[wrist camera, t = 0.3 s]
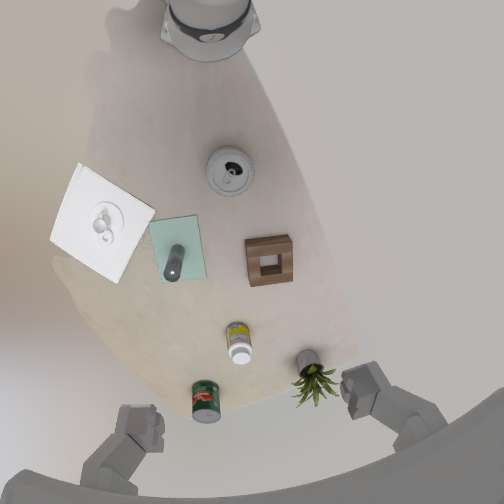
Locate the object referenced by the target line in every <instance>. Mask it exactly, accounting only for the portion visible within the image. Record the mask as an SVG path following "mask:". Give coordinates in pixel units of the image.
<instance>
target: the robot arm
mask: <svg viewBox="0 0 504 504" xmlns="http://www.w3.org/2000/svg"><path fill="white" fill-rule="evenodd" d="M165 4H166V5H167V8H166V10H165V12H164V21H163V25H162V30H161V35H160V37H161V40H162V41H164V42H166V43H168V44H171V45H173V46H175V47H176V48H177V49H178V50H179V51H180V52H181V53H182V54H183V55H185V56H187V57H188V58H191V59H193V60H197V61H203V62H213V61H219V60H222V59H225V58H228V57H230V56H232V55H233V54H235V53H236V52H238V51H239V50H240V49H241V48H242V47H243V45H244V44H245V42H246V41H247V40H248V38H249V37H251V36H253V35H255V34H256V33H258V32H259V31H260V28H261V25H260V22H259V19H258V17H257V14H256V11H255V9H254V6H253V3H252V1H251V0H165ZM166 30H167V32H166ZM341 376H342V379H343V381H341V383H340V390H341V394H342V397H343V400H344V401H345V402H346V403H348V411H349V413H350V415H351V418H352V420H355V419H358V418H361V417H364V416H367V415H371V416H372V417H374V418H375V419H377V420H378V421H380V422H381V423H383V424H384V425H386V426H387V427H389V428H390V429H392V430H393V431H395V432H396V433H398V434H399V436H398V437H397V439H396V440H395V442H394V444H393V447H394V449H395V452H396V453H394V454H392V455H390V456H388V457H386V458H383V459H381V460H378V461H376V462H373V463H371V464H368V465H366V466H363V467H360V468H358V469H355V470H352V471H349V472H346V473H343V474H340V475H337V476H333V477H330V478H327V479H324V480H320V481H316V482H312V483H308V484H304V485H300V486H296V487H291V488H286V489H281V490H276V491H270V492H264V493H257V494H250V495H241V496H232V497H217V498H159V497H146V496H138V488H137V486H135V485H134V484H132V483H131V482H129V481H128V480H129V479H130V477H131V476H132V474H133V473H134V471H135V470H136V468H137V467H138V466H139V464H140V463H141V461H142V460H143V458H144V457H145V455H146V453H148V452H149V453H150V452H152V453H153V452H163V448H164V439H163V438H162V437H161V436H162V435H163V434H164V432H165V424H164V419H163V417H162V415H161V414H159V413H158V412H156V407H155V406H154V405H153V404H151V405H150V404H149V405H121V407H120V409H119V414H118V418H117V423H116V428H115V433H114V434H111V435H110V436H109V437H108V438H107V439H106V440H105V441H104V443H103V444H102V445H101V446H100V447H99V448H98V449H97V450H96V451H95V452H94V453H93V454H92V455H91V456H90V457H89V458H88V459H87V460H86V461H85V462H84V464H83V470H82V475H81V480H80V486H79V485H75V484H71V483H68V482H64V481H60V480H57V479H54V478H51V477H47V476H44V475H41V474H39V473H36V472H33V471H30V470H27V469H24V470H22V471H20V472H19V473H17V474H16V475H15V476H14V477H12V478H11V479H10V480H9V481H8V482H7V483H6V485H5V487H4V489H3V492H2V495H1V499H0V504H504V388H500V389H498V390H497V391H495V392H494V393H493V394H492V395H490V396H489V397H488V398H486V399H485V400H484V401H482V402H481V403H480V404H478V405H477V406H476V407H474V408H473V409H471V410H470V411H468V412H467V413H466V414H464V415H463V416H461V417H460V418H458V419H456V420H455V421H453V422H452V423H450V424H449V425H448V423H447V422H446V420H445V418H444V417H443V415H442V414H441V412H440V411H439V409H438V408H437V406H436V405H435V404H434V403H431V402H429V401H427V400H425V399H422V398H420V397H418V396H416V395H413V394H412V393H409V392H407V391H405V390H403V389H401V388H399V387H397V386H391V384H390V383H389V382H388V380H387V378H386V376H385V375H384V373H383V372H382V370H381V368H380V367H379V365H378V364H377V362H375V361H372V362H369V363H366V364H362V365H360V366H357V367H354V368H351V369H348V370H345V371H343V372H342V375H341Z"/></svg>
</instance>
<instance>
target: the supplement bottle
mask: <svg viewBox="0 0 504 504" xmlns="http://www.w3.org/2000/svg"><path fill="white" fill-rule="evenodd" d="M226 336H227V347H228V354H229V356H230V357H231V358H232V360H233V362H234V363H236V364H239V365H243V364H246V363H248V362H249V360H250V355H251V354H252V345H251V340H250V335H249V330H248V327H247V326H246V325H245V324H243V323H239V322H236V323H233V324H231V325H229V326H228V328H227V330H226Z"/></svg>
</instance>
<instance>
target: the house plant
mask: <svg viewBox="0 0 504 504" xmlns="http://www.w3.org/2000/svg"><path fill="white" fill-rule="evenodd" d="M297 364H298V372H299V377H300V378H301V379H304V381H303V382H300V383H298V382H299V381H300V380H301V379H300V380H299V381H297V382H296V383H291V384H293V385H295V386H299V385H302V384H304V383H305V385H304V386H303V387H301V388H298V389H301V391H300V392H302V393H301V394H300V395H297V396H293V397H300V396H302V395H303V394H304V393H305V394H304V396H303V398H302V399H301V401H300V402H301V403H300V404H299V405H298V406H297V407H299V406H300V405H301V404H302V403H303V402H304V401H305V399H306V398H307V396H308V394H309V393H311V391H312V389H313V394H312V395H313V399H314V402H315V406H317V405H318V400H319V393H320V394H321V395H323V396H324V398H326V396H325V395H324V393H323V392H322V390H321V387H320V386H319V384H318V383H317V381H318V382H320V383H321V385H322V386H323V387H324V388H325V389H326V390H327V391H328V392H329V393H330V394H333V395H335V396H339V395H338V394H336V393H335V392H334V391H333V390H332V389H331V387H330V386H329V385H328V384H327V383H330V384H334V385H337V384H338V383H334V382H332V381H331V380H330V379H329V378H327V377H325V376H323V375H330V374H332V373H333V372H335V370H336V369H334V370H330V371H327V372H323V370H324V366H323V365H322V363H321V362H320V361H319V359H318V358H317V356H316V355H315V353H314V352H313V351H311V350H304V351H302V352H300V353H299V354H298V356H297ZM322 374H323V375H322ZM326 382H327V383H326ZM312 395H311V396H312ZM311 396H310V397H311ZM310 397H309V398H310ZM309 398H308V399H309ZM308 399H307V400H308ZM326 399H327V398H326Z"/></svg>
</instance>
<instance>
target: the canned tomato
mask: <svg viewBox="0 0 504 504" xmlns="http://www.w3.org/2000/svg"><path fill="white" fill-rule="evenodd" d="M192 417H193V419H194V420H195V421H197V422H200V423H207V424H208V423H214V422H217V421H219V419H220V418H221V415H220V401H219V387H218V385H217V384H216V383H215V382H213V381H209V380H201V381H198V382H196V383H194V385H193V398H192Z"/></svg>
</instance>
